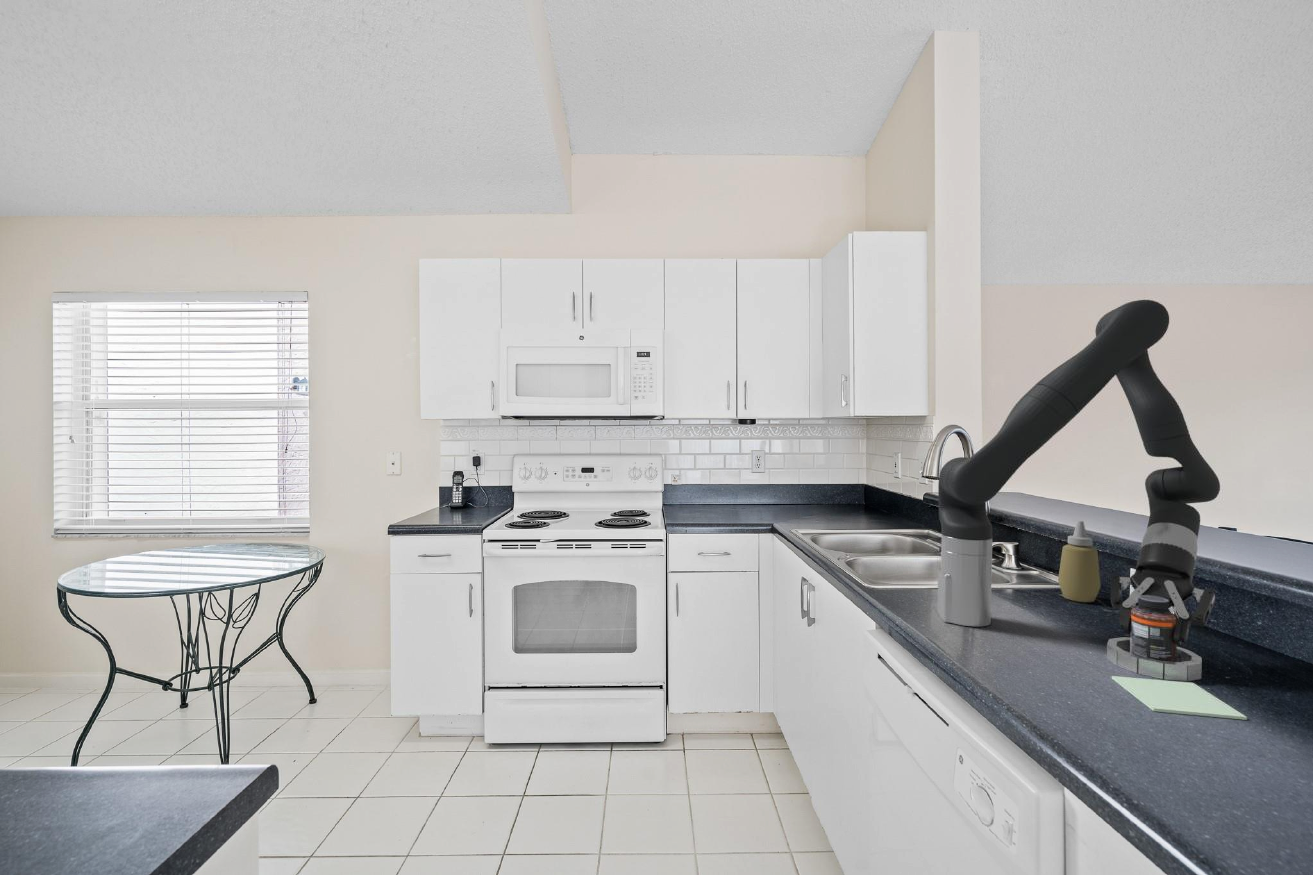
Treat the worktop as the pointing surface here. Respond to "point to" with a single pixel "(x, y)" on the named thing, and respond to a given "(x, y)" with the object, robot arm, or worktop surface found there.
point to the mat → (1177, 697)
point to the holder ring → (1155, 662)
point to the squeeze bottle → (1079, 567)
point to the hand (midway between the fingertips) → (1151, 636)
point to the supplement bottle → (1153, 629)
